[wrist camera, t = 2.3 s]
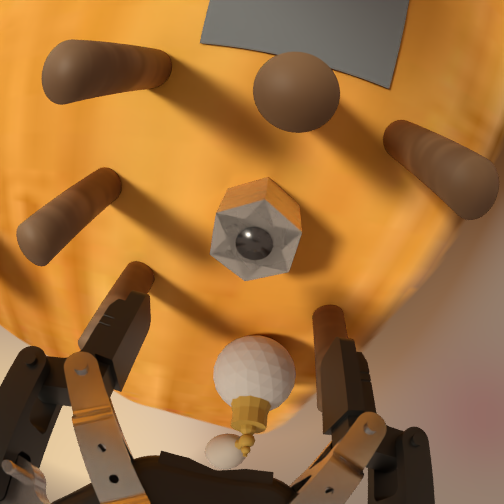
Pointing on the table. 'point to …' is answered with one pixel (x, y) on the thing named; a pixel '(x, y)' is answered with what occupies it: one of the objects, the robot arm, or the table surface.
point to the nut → (256, 230)
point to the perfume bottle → (249, 393)
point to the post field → (275, 112)
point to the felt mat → (315, 31)
